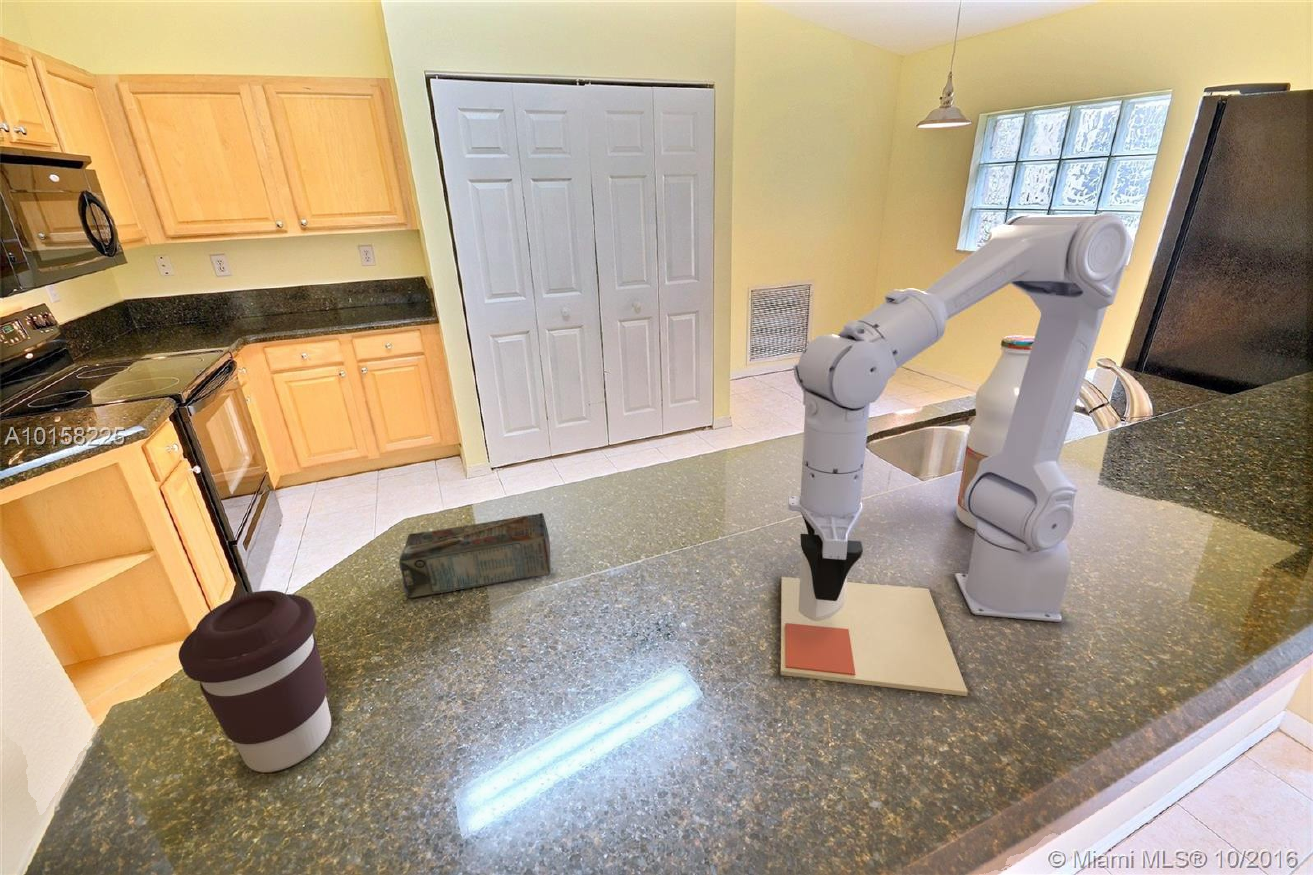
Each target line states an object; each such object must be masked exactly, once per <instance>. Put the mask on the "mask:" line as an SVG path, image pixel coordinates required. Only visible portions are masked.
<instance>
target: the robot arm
mask: <svg viewBox="0 0 1313 875" xmlns="http://www.w3.org/2000/svg"><path fill="white" fill-rule="evenodd" d="M1133 245H1134V241H1133V239H1132V237H1131V235H1130V232H1129V230H1128V228H1127V226H1126V224H1125V222H1124V221H1123V220H1122V218H1121V217H1120V216H1119V215H1117V214H1115V213H1112V212H1103V213H1102V212H1101V213H1097V214H1081V215H1080V214H1074V215H1073V214H1072V215H1031V214H1018V215H1015V216H1013V217H1011V218H1009V219H1008V220H1007V221H1006V222H1004V224H1002V225H999V226H997V227H995V228H993V229H991V230H990V233H989V235H988V237H987V240H986V242H985V243H984V244H983V245H981V246H980V247H978V249H976V250H975V251H974V252H972V253H971V254H970V255H969V256H967V257H966V258H964V259H963V260H962V261H961V262H959V263H958V264H957V265H955V266H954V267H953V268H952V269H950V270H949V271H948V272H946V273H945V274H944V275H942V276H941V277H940V278H939V279H937V280H936V281H934V282H933V283H932V284H930V285H929V286H928V287H927V288H925V289H924V290H920V289H918V288H917V289H916V288H905V289H896V288H895V289H893V290H891V291H890V292H888V293H886V294H885V296H884V300H885V301H884V302H883V303H881V304H880V305H878V306H876V307H875V308H873V309H872V310H870V311H869V312H867V313H866V314H865V315H863V316H862V317H860V318H859V319H857V320H854V319H852V320H850V321H848V322H847V323H845V324H844V325H843V329H842V330H840V332H838V335H836V334H832V333H830V334H827V333H826V334H822V335H819V336H817V337H815V338H814V339H813V340H811V341H810V342H809V343H808V344H807V345H806V346H805V348H803V350H802V352H801V354H800V356H799V360H798V363H797V364H794V365H793V375H794V379H795V381H796V384H797V385H798V386H799V387H800V388H801V390H802V394H803V395H802V396H803V399H802V404H803V406H804V420H803V440H802V456H801V458H802V460H801V461H802V462H801V481H800V482H801V483H800V495H791V496H789V497H788V499H787V500H788V501H787V502H788V503H787V504H788V505H787V506H788V507H787V508H788V510H789V511H791V512H798V513H800V514H801V517H802V519H803V521H804V524H805V526H806V531H807V533H800V534H799V535H800V537H799V538H800V539H799V540H800V548H801V551H802V553H804V555H805V557H806V558H807V560H808V563H809V566H810V569H811V574H812V582H813V589H814V594H815V597H816V599H817V600H829V601H837V599H838V597H839V595H840V593H841V590H842V587H843V584H844V581H845V579H846V576H847V577H848V574H849V572H850V570H851V569H852V568H853V566H854V565H855V564H856V562H857V561H858V560H859V559H861V558H862V555H863V552H864V548H863V542H862V540H852V539H851V540H849V537H850V535H851V534H852V532H853V530H854V529H855V527H856V525H857V523H858V521H859V520H860V518H861V516H862V514H863V503H862V492H863V483H864V482H863V481H864V471H865V460H866V459H865V458H866V449H867V437H868V428H869V419H870V418H869V416H870V406H871V404H872V403H875V402H876V401H877V400H878V399H879V398H880V397H881V396H882V394H883V392H884V391H885V389H886V387H887V384H888V382H889V381H890V379H891V378H892V377H893V376H895V375H896V372H897V371H898V369H900V367H903V366H904V365H906V364H907V363H908V362H909V361H911V360H913V359H914V358H915V357H918V356H919V355H920V354H921V353H923V352H924V351H926V350H927V349H929V348H930V347H932V346H933V345H935V344H936V343H938V342H939V341H940V340H941V339H942V338H943V337H944V334H945V331H946V327H947V326H946V325H947V322H948V320H950V319H952V318H953V317H955V316H957V315H959V314H960V313H962V312H963V311H965V310H967V309H969V308H971V307H972V306H974V305H976V304H978V303H979V302H982V301H983V300H985V299H986V298H988V297H990V296H991V295H993V294H994V293H997V292H998V291H1000V290H1001V289H1003V288H1005V287H1007V286H1009V285H1012V286H1013V287H1015V288H1016V289H1017V290H1019V291H1021V292H1022V293H1024V294H1025V295H1027V296H1028V297H1029V298H1030V299H1031V300H1032V302H1033V303H1034V305H1035V306H1036V307H1037V309H1038V311H1039V313H1040V317H1039V321H1038V325H1037V328H1036V331H1035V335H1034V337H1035V338H1034V342H1033V345H1032V349H1031V352H1030V356H1029V359H1028V363H1027V366H1026V370H1025V373H1024V377H1023V380H1022V384H1021V387H1020V391H1019V394H1018V398H1017V401H1016V405H1015V408H1014V412H1013V415H1012V419H1011V422H1010V426H1009V429H1008V433H1007V436H1006V440H1005V443H1004V447H1003V450H1002V452H1001V453H998V454H995V455H993V456H990V457H987V458H985V459H983V460H981V461H980V463H979V467H978V470H977V473H976V475H975V476H974V478H973V479H972V481H971V482H970V483H969V485H968V487H967V489H966V492H965V497H964V504H965V508H966V510H967V511H968V512H969V513H970V514H971V515H973V516H972V522H971V524H973V525H974V526H975V527H976V530H975V532H974V537H973V542H972V549H971V553H970V560H969V566H968V571H967V573H961V572H960V573H959V572H957V573H955V575H954V579H955V580H956V582H957V584H958V586H959V588H960V591H961V594H962V595H963V597H964V599H965V601H966V604H967V605H968V608H969V610H970V612H971V613H972V614H973V615H976V616H987V617H997V618H1009V619H1021V620H1032V621H1044V622H1055V623H1061V622H1062V620H1063V617H1062V615H1061V608H1062V605H1063V601H1064V597H1065V593H1066V589H1067V585H1068V581H1069V577H1070V574H1071V573H1070V572H1071V555H1070V551H1069V548H1068V546H1067V543H1066V542H1065V539H1066V538H1067V536H1068V535H1069V533H1070V532H1071V530H1072V527H1073V526H1074V520H1075V511H1074V502H1075V498H1076V495H1077V492H1078V488H1077V486H1076V484H1075V483H1074V482H1073V481H1072V479H1071V478H1070V477H1069V475H1068V474H1067V473H1066V471H1065V470H1064V469H1063V467H1061V465H1060V463H1059V460H1060V459H1059V458H1060V456H1061V452H1062V449H1063V446H1064V443H1065V440H1066V437H1067V434H1068V431H1069V427H1070V425H1071V422H1072V418H1073V415H1074V412H1075V408H1076V406H1077V402H1078V400H1079V396H1080V393H1081V389H1082V387H1083V384H1084V380H1085V378H1086V374H1087V372H1088V368H1089V365H1090V362H1091V358H1092V355H1093V352H1094V350H1095V346H1096V343H1097V340H1098V338H1099V334H1100V330H1101V328H1102V325H1103V322H1104V319H1105V316H1106V312H1107V309H1108V307H1109V306H1113V304H1114V303H1115V301H1116V298H1117V294H1118V290H1119V289H1120V288H1119V287H1120V284H1121V282H1122V280H1123V279H1122V278H1123V275H1124V273H1125V269H1126V266H1127V263H1128V260H1129V257H1130V254H1131V251H1132V248H1133ZM815 531H816V532H817V534H818V535H815Z"/></svg>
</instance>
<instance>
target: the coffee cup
mask: <svg viewBox="0 0 1313 875" xmlns="http://www.w3.org/2000/svg"><path fill="white" fill-rule="evenodd" d="M316 626H317V615H316V612H315V609H314V606H313V604H312V602H311V601H310V600H309V599H308V598H306V597H304V596H302V595H298V594H293V593H285V592H282V591H279V590H272V589H270V590H259V591H253V592H250V593H246V594H242V595H239V596H237V597H234V598H231V599H229V600H227V601H225V602H223V603H221V604H219V605H218V606H216V607H214V608H213V609H212V610H210V611H209V612H208V613H206V614H205V615H204V616H203V617H202V618H201V620H200V621H199V622H198V623H197V625H196V627H195V629H193V631H192V632H190V634H188V635H187V636H186V638H185V639H184V641H183V643H182V644H181V645H180V647H179V650H178V660H179V662H180V665H181V668H182V670H183V672H184V673H185V675H186V676H187V677H188V678H189V679H191V680H193V681H196V682H199V687H200V690H201V693H202V695H203V696H204V698H205V700H206V702H207V703H208V704H207V705H209V708H210V709H211V711H212V712H213V715H214V717H215V718H216V720H217V722H218V723H219V725H220V727H221V729H222V730H223V733H224V735H225V736H226V737H227V738H228V740H230V741H231V742H233V744H234V746H235V747H236V750H237V751H238V753H239V755H240V757H241V759H242V760H243V762H244V764H245V765H246V766H247V767H248V768H249V769H250V770H252V771H254V772H259V773H273V772H278V771H282V770H285V769H288V768H290V767H292V766H294V765H297V764H298V763H300V762H302V761H304V760H305V759H307V758H308V757H310V756H311V755H313V753H314V752H315V751H317V749H319V747H320V746H321V745H322V744H323V743H324V742H325V741H326V739H327V737H328V735H329V734H330V731H331V727H332V715H331V711H330V708H329V703H328V698H327V693H328V692H327V691H328V690H327V689H328V688H327V687H328V686H327V681H326V677H325V672H324V668H323V663H322V658H321V654H320V649H319V644H318V640H317V637H316V635H315V634H314V631H315V629H316Z"/></svg>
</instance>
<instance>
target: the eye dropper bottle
mask: <svg viewBox="0 0 1313 875" xmlns="http://www.w3.org/2000/svg"><path fill="white" fill-rule="evenodd" d="M815 535H818V534H817V532H816V531H815ZM800 560H801V561H800V573H799V574H800V576H799V578H800V590H799V612H800V613H801V614H802V615H804V616H806V617H807V618H809V619H811V620H813V621H820V620H824V619H827V618H829V617H831V616H833V615H835V614H836V613H837V612H838V611H839V610H840V609H841V608H842V606H843V604H844V602H845V596H846V584H847V582H848V575H847V576H846V579H845V581H844V584H843V587H842V590H841V593H840V595H839V597H838V599H837V601H829V600H817V599H816V597H815V594H814V589H813V582H812V574H811V569H810V566H809V563H808V560H807V558H806V557H805V555H804V553H803V552H802V553H801V559H800Z"/></svg>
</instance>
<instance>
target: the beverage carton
mask: <svg viewBox="0 0 1313 875" xmlns="http://www.w3.org/2000/svg"><path fill="white" fill-rule="evenodd" d="M401 552H402V553H401V554H400V557H399V559H398V566H399V570H400V573H401V577H402V584H403V587H404V590H405V594H406V597H407V598H408V599H412V598H417V597H422V596H429V595H436V594H442V593H443V594H444V593H449V592H454V591H459V590H460V591H461V590H464V589H470V588H475V587H483V586H487V585H493V584H498V583H502V582H503V583H504V582H507V581H508V582H509V581H514V580H519V579H526V578H532V577H538V576H543V575H549V574H551V542H550V535H549V531H548V527H547V523H546V519H545V516H544V513H543V512H541V513H535V514H528V515H521V516H517V517H516V516H515V517H510V518H503V519H497V520H492V521H487V522H480V523H475V524H467V525H462V526H455V527H448V528H442V529H436V530H431V531H421V532H415V533H409V534H408V536H407V537H406V541H405V544H404V547H403V549H402V551H401Z"/></svg>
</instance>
